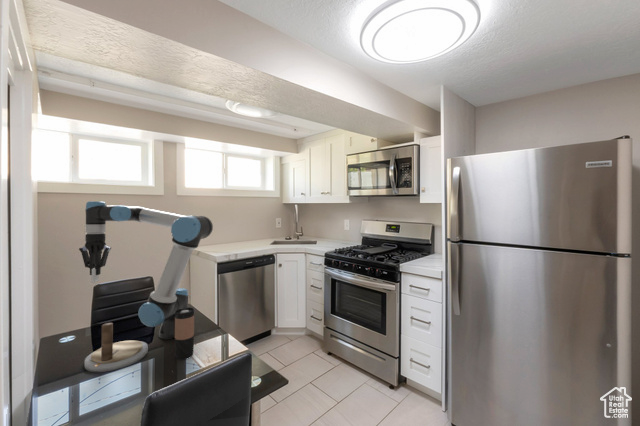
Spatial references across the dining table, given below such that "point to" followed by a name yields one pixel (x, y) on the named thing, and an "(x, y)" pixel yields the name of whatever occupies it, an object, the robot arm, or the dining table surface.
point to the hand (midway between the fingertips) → (95, 281)
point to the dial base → (115, 365)
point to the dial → (114, 347)
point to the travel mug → (184, 333)
